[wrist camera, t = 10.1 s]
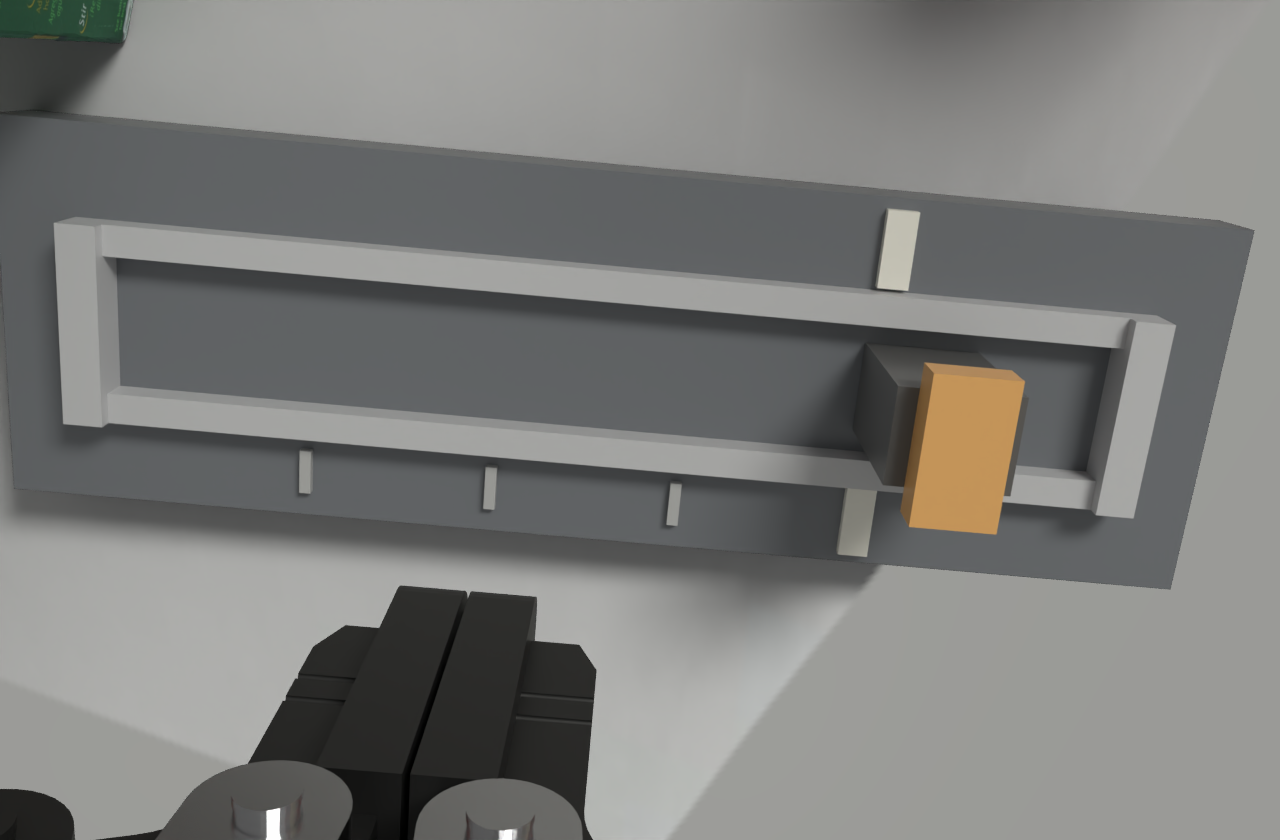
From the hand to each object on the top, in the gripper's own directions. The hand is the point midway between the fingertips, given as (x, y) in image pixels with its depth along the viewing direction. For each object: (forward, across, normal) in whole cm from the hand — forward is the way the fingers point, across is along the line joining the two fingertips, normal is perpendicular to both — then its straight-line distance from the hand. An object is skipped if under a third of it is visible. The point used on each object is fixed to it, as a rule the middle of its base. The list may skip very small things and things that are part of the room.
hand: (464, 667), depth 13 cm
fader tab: (+19, -9, +1) cm, 21 cm away
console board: (+21, -1, +2) cm, 21 cm away
